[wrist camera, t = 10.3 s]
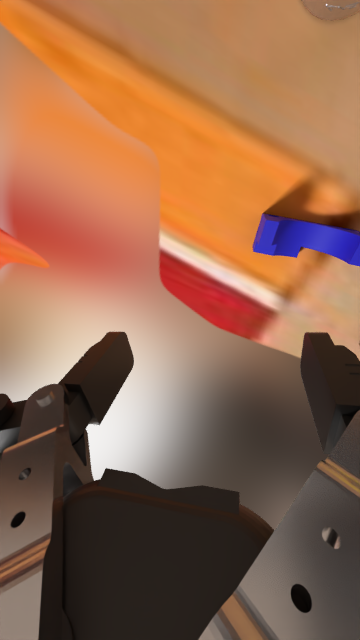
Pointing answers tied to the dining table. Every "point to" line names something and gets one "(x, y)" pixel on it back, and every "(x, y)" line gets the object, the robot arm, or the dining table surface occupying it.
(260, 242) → the cable clip
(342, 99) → the dining table surface
